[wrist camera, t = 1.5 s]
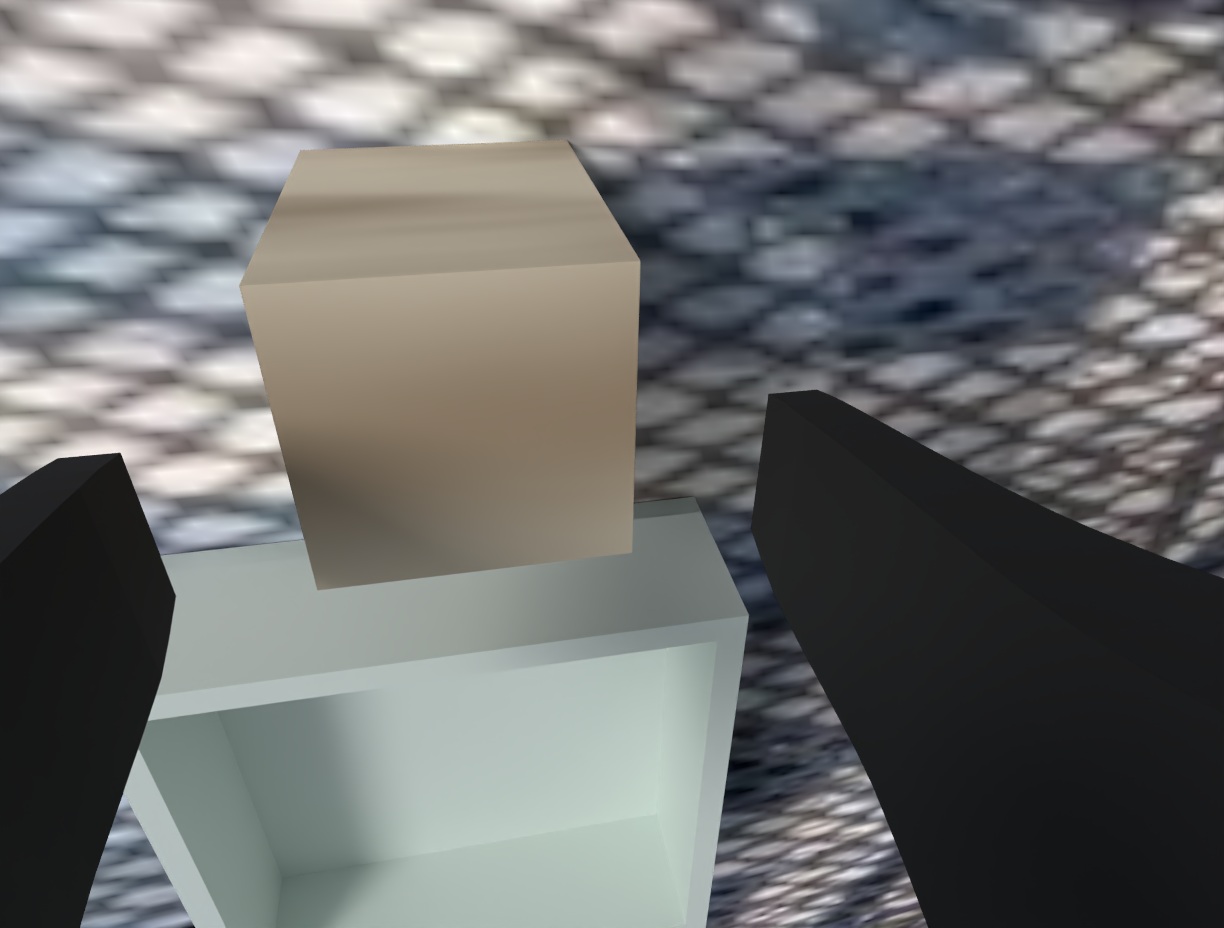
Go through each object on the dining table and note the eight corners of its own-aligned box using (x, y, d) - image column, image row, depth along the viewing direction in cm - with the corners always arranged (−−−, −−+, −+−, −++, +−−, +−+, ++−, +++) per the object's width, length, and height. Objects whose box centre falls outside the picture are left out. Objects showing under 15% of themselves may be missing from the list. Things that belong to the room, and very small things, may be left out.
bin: (669, 804, 27) (704, 931, 23) (268, 873, 25) (245, 1022, 21) (694, 496, 20) (748, 615, 16) (139, 558, 18) (77, 706, 14)
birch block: (570, 367, 17) (631, 552, 12) (346, 385, 17) (317, 591, 12) (566, 139, 15) (640, 260, 10) (300, 149, 14) (239, 285, 9)
